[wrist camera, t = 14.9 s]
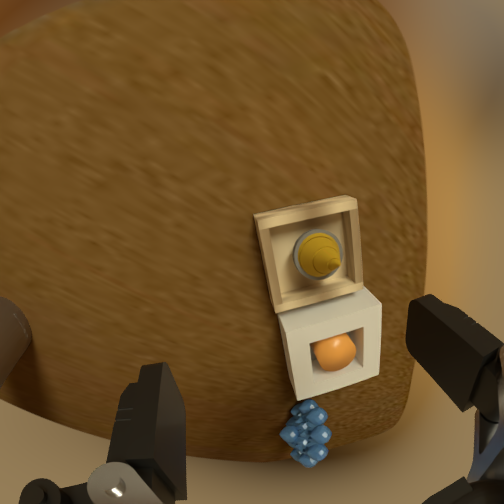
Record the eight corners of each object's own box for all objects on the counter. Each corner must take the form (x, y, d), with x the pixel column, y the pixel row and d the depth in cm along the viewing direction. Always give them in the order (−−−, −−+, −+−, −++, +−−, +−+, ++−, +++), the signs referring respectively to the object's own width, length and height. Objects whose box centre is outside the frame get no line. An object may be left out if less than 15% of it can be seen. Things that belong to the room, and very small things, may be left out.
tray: (270, 301, 38) (275, 313, 35) (253, 214, 34) (257, 220, 32) (353, 279, 39) (363, 288, 36) (345, 194, 35) (356, 199, 32)
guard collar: (289, 377, 43) (297, 400, 38) (276, 310, 39) (285, 332, 34) (364, 354, 44) (378, 374, 39) (364, 286, 39) (381, 303, 35)
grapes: (281, 379, 43) (301, 442, 32) (323, 380, 44) (350, 438, 33) (263, 428, 46) (276, 485, 35) (300, 427, 48) (319, 481, 36)
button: (310, 355, 42) (320, 375, 37) (307, 327, 40) (317, 347, 36) (344, 345, 42) (356, 364, 38) (342, 316, 40) (356, 335, 36)
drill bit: (292, 278, 36) (316, 302, 26) (282, 233, 36) (304, 241, 26) (334, 267, 37) (371, 286, 27) (326, 222, 36) (362, 227, 26)
